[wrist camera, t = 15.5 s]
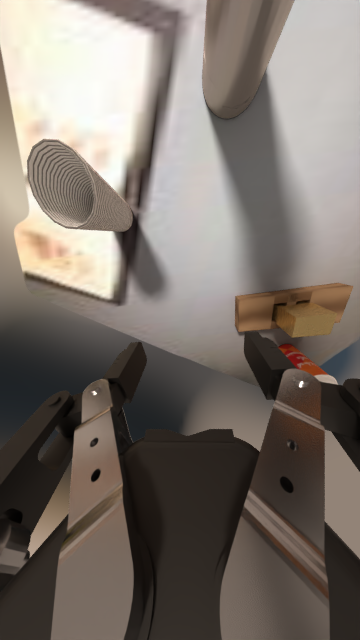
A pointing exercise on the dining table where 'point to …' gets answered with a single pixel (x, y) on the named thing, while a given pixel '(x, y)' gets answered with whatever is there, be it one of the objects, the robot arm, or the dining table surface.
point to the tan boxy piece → (304, 319)
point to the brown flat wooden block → (287, 304)
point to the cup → (74, 190)
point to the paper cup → (306, 364)
